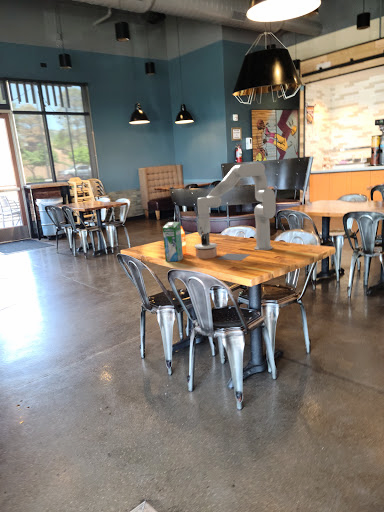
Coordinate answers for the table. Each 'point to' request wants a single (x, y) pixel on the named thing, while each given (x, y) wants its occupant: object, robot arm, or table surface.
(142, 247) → the table surface
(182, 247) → the orange juice
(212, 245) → the lid
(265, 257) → the table surface
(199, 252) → the bowl
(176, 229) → the milk carton
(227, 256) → the mat
